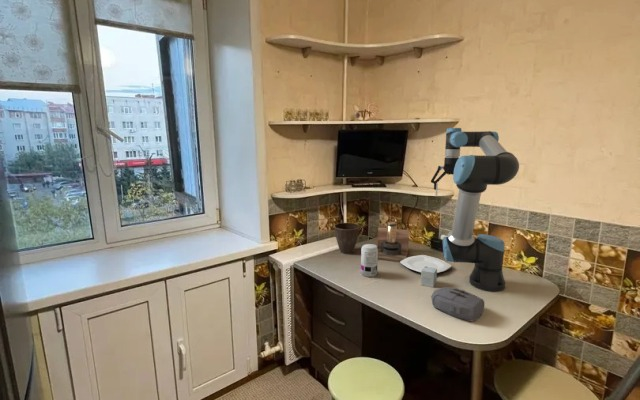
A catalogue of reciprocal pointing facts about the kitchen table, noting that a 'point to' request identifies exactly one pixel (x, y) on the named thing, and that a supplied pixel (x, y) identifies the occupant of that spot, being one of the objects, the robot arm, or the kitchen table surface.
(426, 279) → the skincare box
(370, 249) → the supplement can
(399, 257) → the transparent box
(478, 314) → the soft grey pack
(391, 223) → the clear glass cylinder
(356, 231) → the plant pot
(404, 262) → the plate
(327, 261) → the kitchen table surface
